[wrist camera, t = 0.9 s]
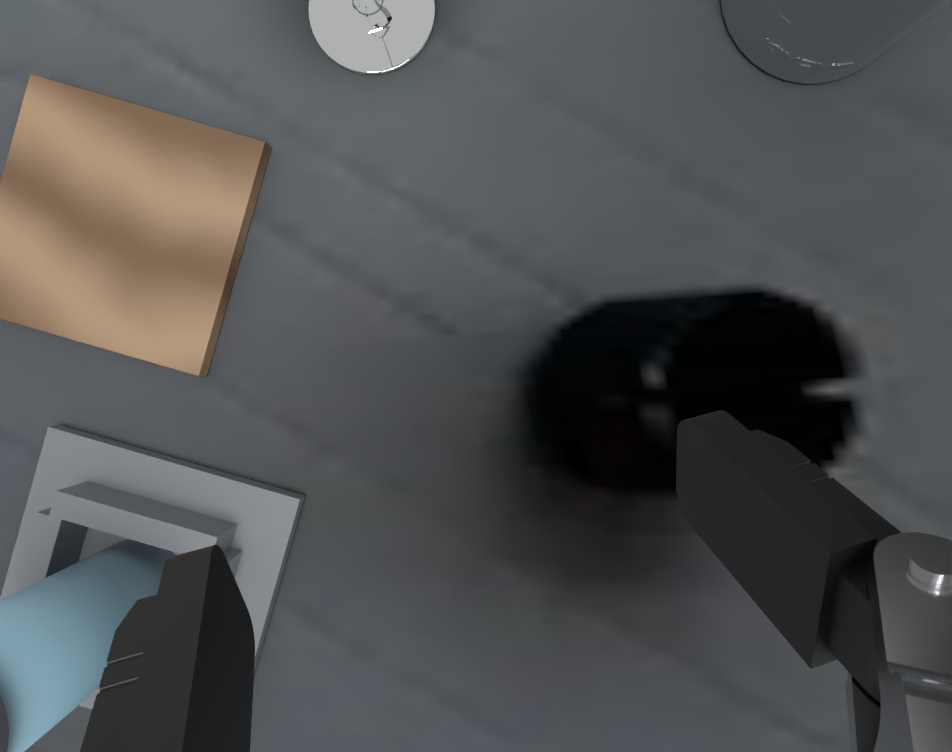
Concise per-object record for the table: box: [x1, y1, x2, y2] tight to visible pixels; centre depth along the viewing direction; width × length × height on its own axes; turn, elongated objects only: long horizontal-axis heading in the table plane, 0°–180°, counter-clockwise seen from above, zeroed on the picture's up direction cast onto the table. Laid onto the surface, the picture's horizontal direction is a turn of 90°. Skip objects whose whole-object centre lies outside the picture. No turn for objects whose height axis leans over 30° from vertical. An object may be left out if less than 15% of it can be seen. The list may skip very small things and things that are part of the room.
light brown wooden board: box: [0, 74, 271, 376], centre depth 33 cm, size 12×12×1 cm
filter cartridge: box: [0, 539, 175, 752], centre depth 26 cm, size 5×5×14 cm
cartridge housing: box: [0, 425, 305, 709], centre depth 32 cm, size 13×13×4 cm
